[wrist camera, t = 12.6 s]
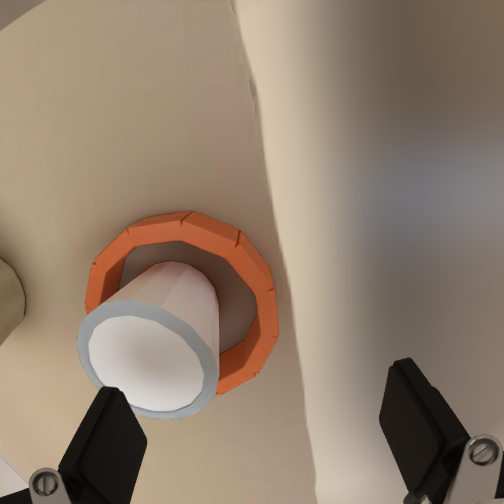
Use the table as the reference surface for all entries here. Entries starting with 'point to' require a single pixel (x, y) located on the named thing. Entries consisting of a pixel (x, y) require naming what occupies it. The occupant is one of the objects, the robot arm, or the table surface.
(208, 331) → the white cylinder
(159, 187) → the table surface
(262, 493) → the table surface
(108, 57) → the table surface
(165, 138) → the table surface
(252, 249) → the ring
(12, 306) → the flower pot
